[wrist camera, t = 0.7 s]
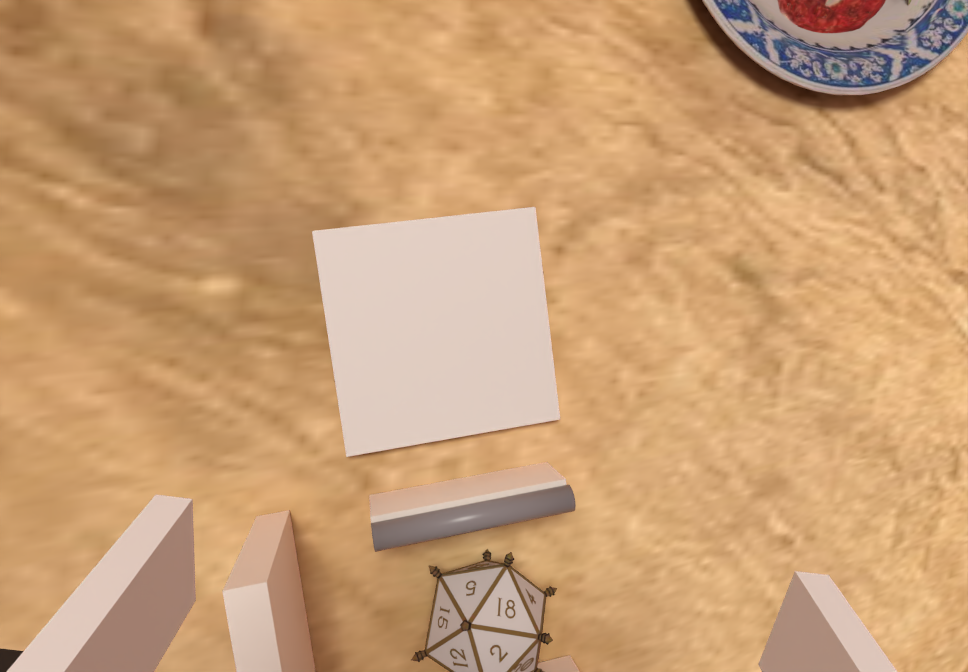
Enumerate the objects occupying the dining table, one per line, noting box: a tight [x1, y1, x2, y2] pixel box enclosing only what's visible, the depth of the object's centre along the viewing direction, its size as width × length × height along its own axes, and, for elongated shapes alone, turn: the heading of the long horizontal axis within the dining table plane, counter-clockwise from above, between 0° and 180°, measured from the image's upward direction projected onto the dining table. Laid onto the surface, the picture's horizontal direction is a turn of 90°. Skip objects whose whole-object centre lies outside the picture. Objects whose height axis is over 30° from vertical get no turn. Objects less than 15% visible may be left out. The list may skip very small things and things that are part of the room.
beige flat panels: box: [223, 462, 580, 672], centre depth 37 cm, size 16×19×10 cm
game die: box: [411, 549, 557, 672], centre depth 38 cm, size 9×8×10 cm
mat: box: [312, 207, 560, 457], centre depth 40 cm, size 14×14×1 cm
